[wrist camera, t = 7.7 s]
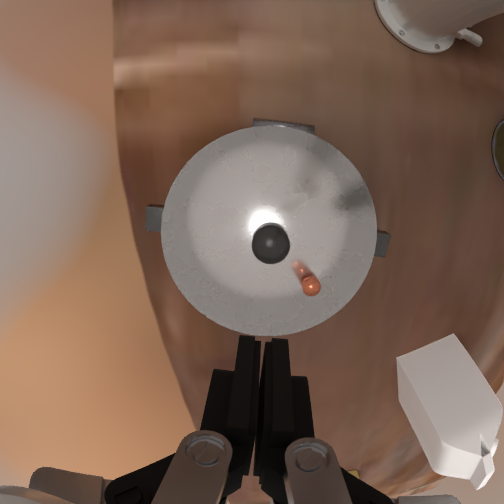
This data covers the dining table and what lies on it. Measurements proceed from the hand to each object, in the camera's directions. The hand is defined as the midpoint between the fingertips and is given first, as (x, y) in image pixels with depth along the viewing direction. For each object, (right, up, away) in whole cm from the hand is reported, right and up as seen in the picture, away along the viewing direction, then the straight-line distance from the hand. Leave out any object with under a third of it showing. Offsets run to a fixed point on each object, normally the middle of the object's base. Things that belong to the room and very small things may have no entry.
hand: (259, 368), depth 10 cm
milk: (+31, -17, +35) cm, 50 cm away
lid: (+1, +6, +16) cm, 17 cm away
